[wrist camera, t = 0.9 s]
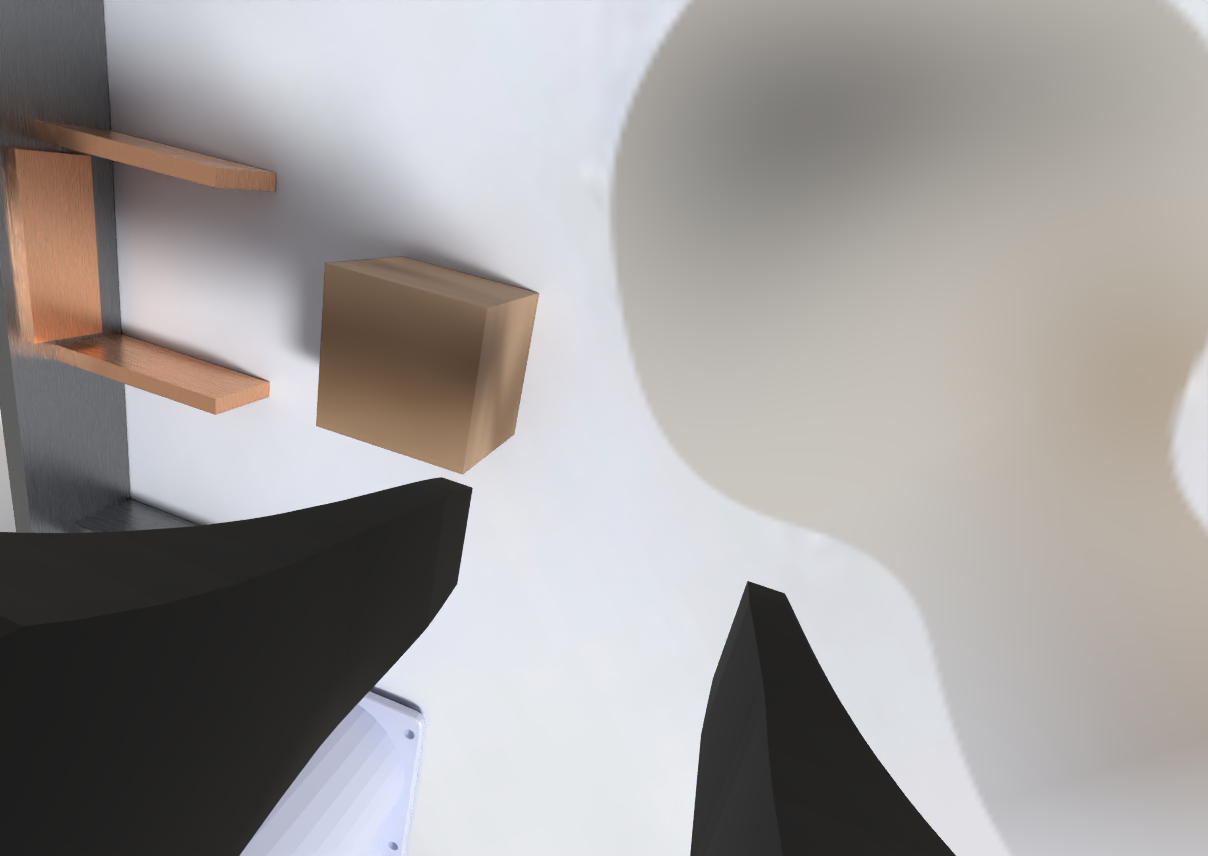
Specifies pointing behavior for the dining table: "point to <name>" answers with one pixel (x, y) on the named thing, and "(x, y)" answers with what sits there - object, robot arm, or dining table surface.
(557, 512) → the dining table surface
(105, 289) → the rack
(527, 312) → the walnut block
